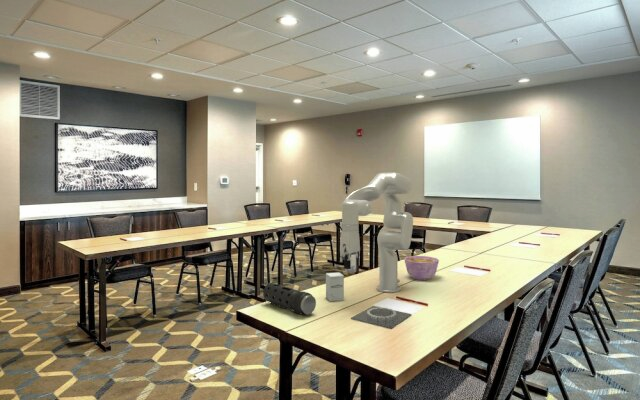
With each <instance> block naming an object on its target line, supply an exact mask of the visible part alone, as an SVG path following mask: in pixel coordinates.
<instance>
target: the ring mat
mask: <svg viewBox="0 0 640 400" xmlns="http://www.w3.org/2000/svg"><path fill="white" fill-rule="evenodd" d="M411 316H412V313H408V312H404V311H399V310H394V309H392V308H388V307H380V306H375V305H372V306H370V307H368V308H366V309H365V310H363V311H360V312H358V313H357V314H355V315H353V316H351V317H350V319H351V320H353V321H357V322H362V323H364V324H369V325H374V326H377V327H382V328H386V329H390V330H392V329H394V328H395V327H397V326H398V325H399V324H401V323H403V322H404V321H405V320H407V319H409V318H410V317H411Z"/></svg>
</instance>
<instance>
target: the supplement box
mask: <svg viewBox="0 0 640 400" xmlns="http://www.w3.org/2000/svg"><path fill="white" fill-rule="evenodd" d="M344 279H345V275H344V274H342V273H341V272H326V273H325V298H326V299H327V301H329V302H330V303H331V302H340V301H345V286H344V283H345V280H344Z"/></svg>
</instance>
